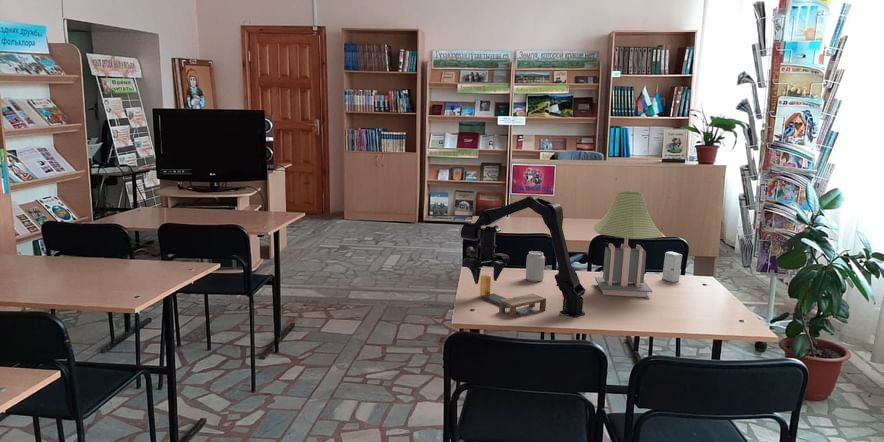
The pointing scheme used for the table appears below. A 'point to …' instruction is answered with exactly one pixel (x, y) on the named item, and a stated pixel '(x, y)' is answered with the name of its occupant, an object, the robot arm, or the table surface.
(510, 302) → the small wooden bench
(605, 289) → the desk lamp
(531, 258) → the can
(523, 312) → the steel token
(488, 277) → the orange grey l-shaped block
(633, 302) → the table surface
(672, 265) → the skincare box
